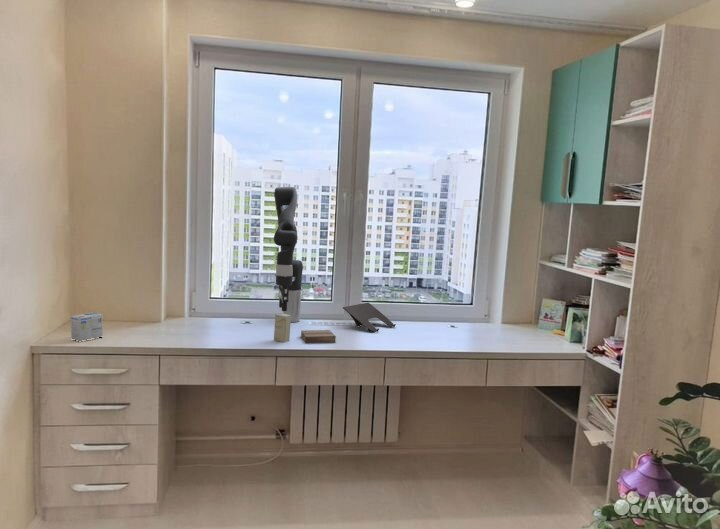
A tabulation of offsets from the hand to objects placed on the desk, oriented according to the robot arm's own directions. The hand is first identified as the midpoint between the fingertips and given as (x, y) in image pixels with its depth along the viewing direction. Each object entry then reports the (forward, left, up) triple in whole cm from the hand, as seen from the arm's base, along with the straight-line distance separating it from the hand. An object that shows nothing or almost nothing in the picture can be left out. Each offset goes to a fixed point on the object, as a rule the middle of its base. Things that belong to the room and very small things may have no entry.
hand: (282, 309), depth 235 cm
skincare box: (0, 0, -15) cm, 15 cm away
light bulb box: (-10, -83, -15) cm, 85 cm away
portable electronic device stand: (-23, +51, -15) cm, 58 cm away
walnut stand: (0, +17, -15) cm, 22 cm away
